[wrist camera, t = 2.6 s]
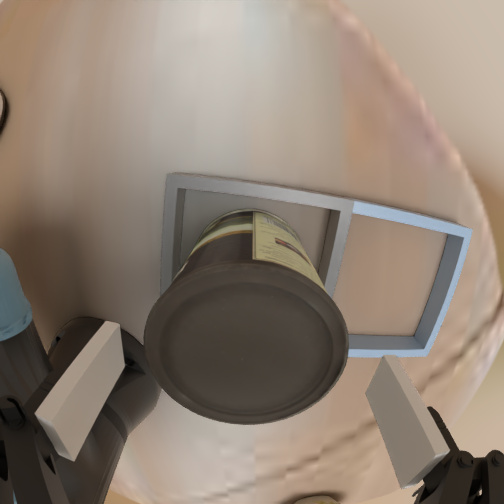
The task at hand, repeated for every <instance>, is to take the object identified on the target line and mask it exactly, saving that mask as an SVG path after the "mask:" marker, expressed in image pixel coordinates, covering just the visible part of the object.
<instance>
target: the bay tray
mask: <svg viewBox="0 0 504 504" xmlns="http://www.w3.org/2000/svg"><path fill="white" fill-rule="evenodd" d="M185 189H193V190H202V191H210V192H219V193H227V194H235V195H243V196H250V197H258V198H265V199H272V200H278V201H285V202H292V203H298V204H304V205H310V206H316V207H322V208H328V209H331V213H330V219H329V224H328V229H327V234H326V239H325V244H324V248H323V253H322V258H321V262H320V267H319V271H318V276H319V278H320V280H321V282H322V284H323V286H324V288H325V289H326V291H327V293H328V295H329V296H330V297H331V299H332V298H333V294H334V290H335V286H336V282H337V278H338V274H339V270H340V266H341V262H342V258H343V254H344V249H345V245H346V240H347V236H348V231H349V226H350V221H351V217H352V213H355V214H361V215H366V216H371V217H376V218H381V219H386V220H391V221H396V222H400V223H405V224H409V225H414V226H418V227H423V228H427V229H432V230H436V231H440V232H444V233H448V237H447V241H446V245H445V249H444V253H443V256H442V260H441V263H440V266H439V270H438V273H437V276H436V279H435V282H434V285H433V288H432V291H431V294H430V297H429V300H428V302H427V305H426V308H425V310H424V313H423V316H422V318H421V321H420V323H419V326H418V328H417V330H416V333H415V335H414V336H375V335H352V334H348V336H349V352H348V357H383V355H396V356H397V357H420V356H427V355H428V353H429V351H430V349H431V347H432V345H433V343H434V341H435V338H436V336H437V334H438V332H439V329H440V327H441V325H442V322H443V320H444V317H445V315H446V312H447V310H448V307H449V305H450V302H451V299H452V297H453V294H454V291H455V288H456V285H457V283H458V280H459V277H460V273H461V270H462V267H463V264H464V260H465V257H466V254H467V250H468V246H469V242H470V239H471V235H472V230H473V229H470V228H468V227H465V226H463V225H460V224H458V223H455V222H451V221H447V220H444V219H440V218H436V217H432V216H429V215H425V214H421V213H417V212H413V211H409V210H404V209H400V208H396V207H392V206H387V205H383V204H378V203H373V202H369V201H364V200H359V199H354V198H349V197H344V196H339V195H334V194H328V193H323V192H317V191H312V190H306V189H300V188H294V187H287V186H281V185H274V184H268V183H261V182H254V181H246V180H238V179H230V178H222V177H213V176H204V175H194V174H184V173H172V174H167V178H166V189H165V201H164V214H163V230H162V251H161V295H162V294H163V293H164V292H165V291H166V290H167V289H168V288H169V286H170V285H171V283H172V282H173V280H174V278H175V276H176V275H177V273H178V272H179V265H180V248H181V233H182V220H183V208H184V198H185Z"/></svg>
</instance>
